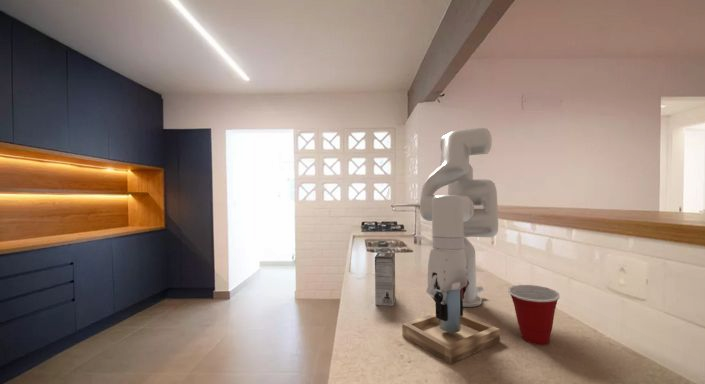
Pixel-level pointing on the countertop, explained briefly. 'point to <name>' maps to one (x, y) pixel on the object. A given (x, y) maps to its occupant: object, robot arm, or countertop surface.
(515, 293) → the plastic cup
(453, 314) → the shaker
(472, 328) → the tray
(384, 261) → the coffee box
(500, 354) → the countertop surface
